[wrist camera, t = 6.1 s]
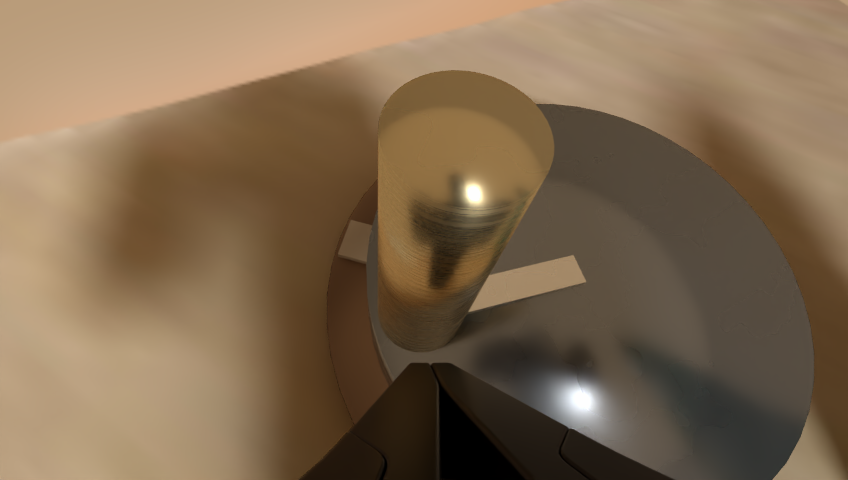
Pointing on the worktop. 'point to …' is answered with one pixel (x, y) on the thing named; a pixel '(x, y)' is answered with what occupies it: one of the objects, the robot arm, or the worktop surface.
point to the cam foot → (586, 278)
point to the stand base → (354, 313)
